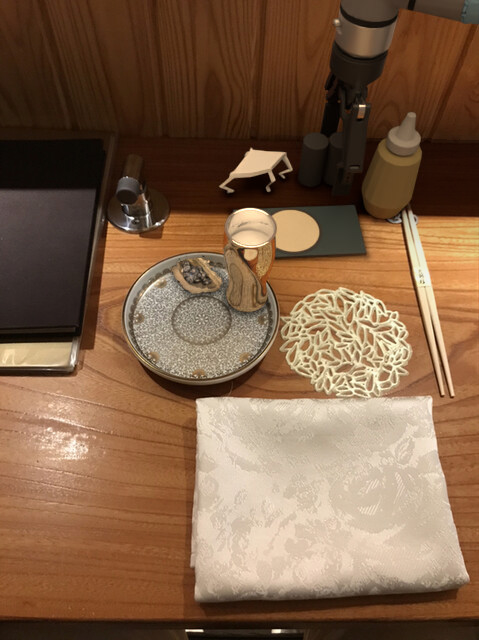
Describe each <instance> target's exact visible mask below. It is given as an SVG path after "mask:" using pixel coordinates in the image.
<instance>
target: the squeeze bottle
mask: <svg viewBox="0 0 479 640" xmlns="http://www.w3.org/2000/svg"><path fill="white" fill-rule="evenodd" d="M416 120H417V114H416V113H415V112H414V111H410V112H409V111H408V112H407V114H406V116H405V117H404V119H403V120H402V122H401V123H400V125H398V126H395V127H392V128H391V129H390V130H389V131H388V134H387V137H386V138H383V139H382V140H381V141H380V142H379V143H378V145H377V147H376V149H375V152H374V154H373V157H372V159H371V162H370V164H369V167H368V169H367V171H366V173H365V176H364V178H363V180H362V185H361V189H360V190H361V195H362V202H363V206H364V209H365V211H366V212H367V213H368V214H369V215H370V216H372V217H374V218H377V219H381V220H386V219H391V218H394V217H396V216H397V215H398V214H399V213H400V212H401V211H402V210H403V209H404V208H405V207H406V206H407V205H408V204H409V202H410V201H411V200H412V199H413V194H414V190H415V185H416V181H417V177H418V174H419V168H420V166H421V160H422V155H423V151H422V149H421V146H420V143H421V138H422V137H421V134H420V133H419V132H418V131H417V130H416V122H417V121H416Z"/></svg>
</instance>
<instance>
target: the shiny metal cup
mask: <svg viewBox="0 0 479 640" xmlns="http://www.w3.org/2000/svg"><path fill="white" fill-rule="evenodd" d="M238 209H239V208H238ZM261 209H262V208H257V207H243V208H240V209H239V210H237V209H236V210H237V211H235V212H233V211H232V213H231V214H230V215H228V217H227V218H226V220H225V222H224V232H223V239H222V255H223V256H222V257H223V261H224V266H225V270H226V273H227V276H228V285H227V288H226V294H225V296H226V300H227V302H228V304H229V305H230V306H231V307H232V308H233V309H235V310H236V311H238V312H243V313H252V312H255V311H258V310H260V309H261V308H263V307H264V306H265V304H266V303H267V300H268V297H269V295H268V293H269V292H268V286H267V281H268V278H269V276H270V273H271V271H272V269H273V266H274V263H275V260H276V259H275V254H276V245H277V225H276V222H275V220H274V218H273V217H272V216H271V215H270V214H269V213H267V212H265V211H263V210H261Z"/></svg>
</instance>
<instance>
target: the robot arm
mask: <svg viewBox="0 0 479 640" xmlns="http://www.w3.org/2000/svg"><path fill="white" fill-rule="evenodd" d="M400 9H402V10H406V11H410V12H415V13H416V12H417V13H421V14H425V15H429V16H433V17H438V18H442V19H446V20H450V21H455V22H458V23H461V24H464V25H469V24H471V25H477V26H479V0H340V3H339V10H338V18H333V20H332V26H333V27H334V28H335V32H334V39H333V42H332V46H331V52H330V57H329V61H328V63H329V64H328V65H329V67H328V68H329V73H328V76H327V78H326V80H325V83H324V86H323V87H324V91H327V92H326V93H325V101H326V102H325V104H324V109H323V115H322V119H321V120H322V121H321V124H320V130H319V133H321V134H323V135H325V136H326V137H327V138H328V139H329V138H330V136H331V135H332V134H333V133H336V132H338V129H339V123H340V120H342V131H341V132H342V161H339V164H336V166H337V172H336V176H335V180H334V185H333V186H332V188H331V189H332V190H331V195H332V196H335V197H336V196H350V194H351V190H352V186H353V182H354V179H355V175H356V174H362V173H363V172H364V171H363V170H364V161H365V153H366V145H367V136H368V127H369V126H368V125H369V119H370V115H371V111H372V104H371V102H367V98H368V96H369V95H368V94H369V88H368V86H369V85H370V84H372V83H374V82H375V81H377V80H378V79H379V78H380V77H381V76H382V74H383V72H384V68H385V64H386V61H387V58H388V54H389V48H390V47H391V45H392V42H393V37H394V34H395V30H396V26H397V23H398V19H399V13H400ZM347 111H349V112H347Z"/></svg>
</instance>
